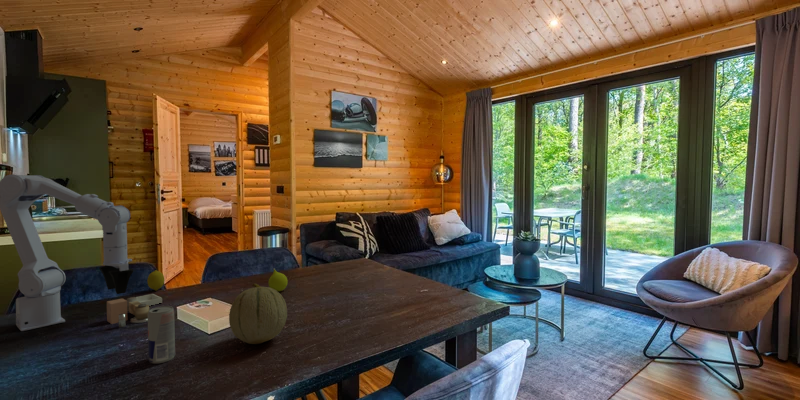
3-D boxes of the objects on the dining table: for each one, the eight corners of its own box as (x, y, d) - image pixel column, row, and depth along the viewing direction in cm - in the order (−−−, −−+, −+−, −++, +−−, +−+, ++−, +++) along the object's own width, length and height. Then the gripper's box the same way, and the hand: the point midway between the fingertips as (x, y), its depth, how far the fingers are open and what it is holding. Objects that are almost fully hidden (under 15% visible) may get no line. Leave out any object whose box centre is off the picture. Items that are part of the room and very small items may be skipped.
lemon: (167, 289, 149) (167, 268, 149) (157, 293, 144) (157, 272, 143) (154, 288, 150) (154, 268, 149) (144, 292, 144) (143, 271, 144)
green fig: (268, 289, 150) (268, 264, 149) (287, 288, 152) (287, 263, 151) (268, 294, 143) (268, 268, 142) (287, 293, 145) (287, 267, 145)
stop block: (111, 324, 112) (111, 304, 112) (107, 321, 115) (106, 301, 114) (127, 320, 115) (127, 300, 115) (122, 317, 118) (122, 298, 118)
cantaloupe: (252, 359, 91) (252, 297, 90) (216, 344, 98) (215, 287, 98) (299, 337, 103) (299, 283, 103) (264, 326, 111) (263, 276, 110)
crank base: (120, 328, 109) (120, 315, 109) (113, 323, 113) (113, 311, 112) (157, 319, 117) (157, 307, 116) (149, 314, 120) (149, 303, 120)
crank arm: (151, 316, 116) (151, 303, 116) (137, 319, 113) (137, 306, 113) (136, 308, 124) (136, 296, 123) (123, 311, 121) (123, 299, 121)
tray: (135, 309, 125) (135, 303, 125) (126, 304, 130) (126, 299, 130) (162, 303, 131) (162, 297, 131) (153, 299, 136) (152, 293, 136)
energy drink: (156, 354, 93) (155, 305, 92) (179, 353, 93) (178, 305, 93) (143, 364, 88) (142, 313, 87) (167, 363, 88) (166, 312, 87)
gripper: (139, 247, 113) (141, 292, 113) (122, 242, 122) (123, 284, 122) (111, 250, 107) (112, 297, 108) (95, 245, 116) (96, 288, 117)
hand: (116, 290), depth 115 cm, fingers open, 7 cm apart
